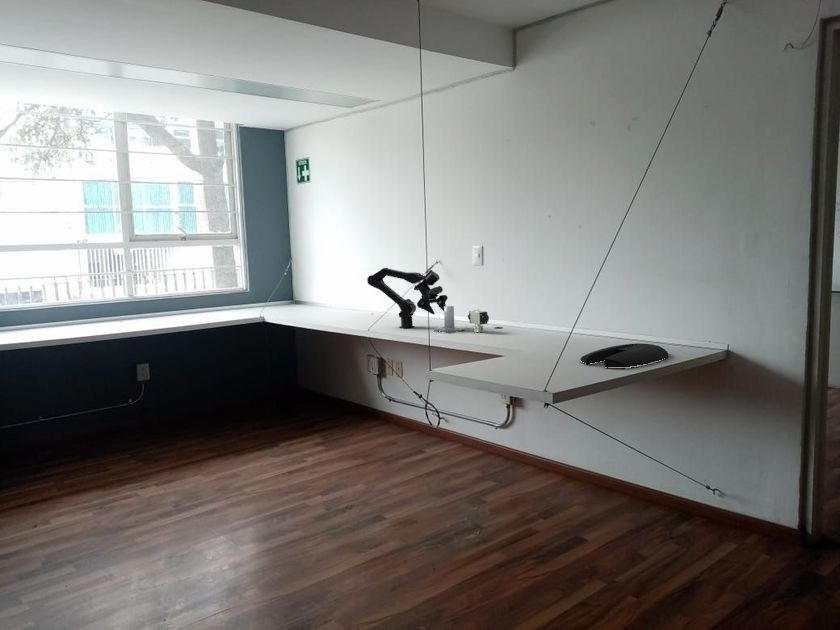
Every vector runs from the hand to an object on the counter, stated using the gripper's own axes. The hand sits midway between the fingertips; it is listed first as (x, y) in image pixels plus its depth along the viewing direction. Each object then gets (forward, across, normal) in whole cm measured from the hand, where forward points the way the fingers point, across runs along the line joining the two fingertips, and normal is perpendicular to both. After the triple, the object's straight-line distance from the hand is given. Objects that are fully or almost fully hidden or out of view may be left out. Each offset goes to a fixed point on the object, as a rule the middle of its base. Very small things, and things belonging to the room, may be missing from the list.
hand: (440, 313), depth 363 cm
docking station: (+89, -10, -78) cm, 119 cm away
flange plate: (+11, 0, +2) cm, 11 cm away
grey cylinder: (+10, 0, +1) cm, 10 cm away
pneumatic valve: (+22, +6, -10) cm, 25 cm away
